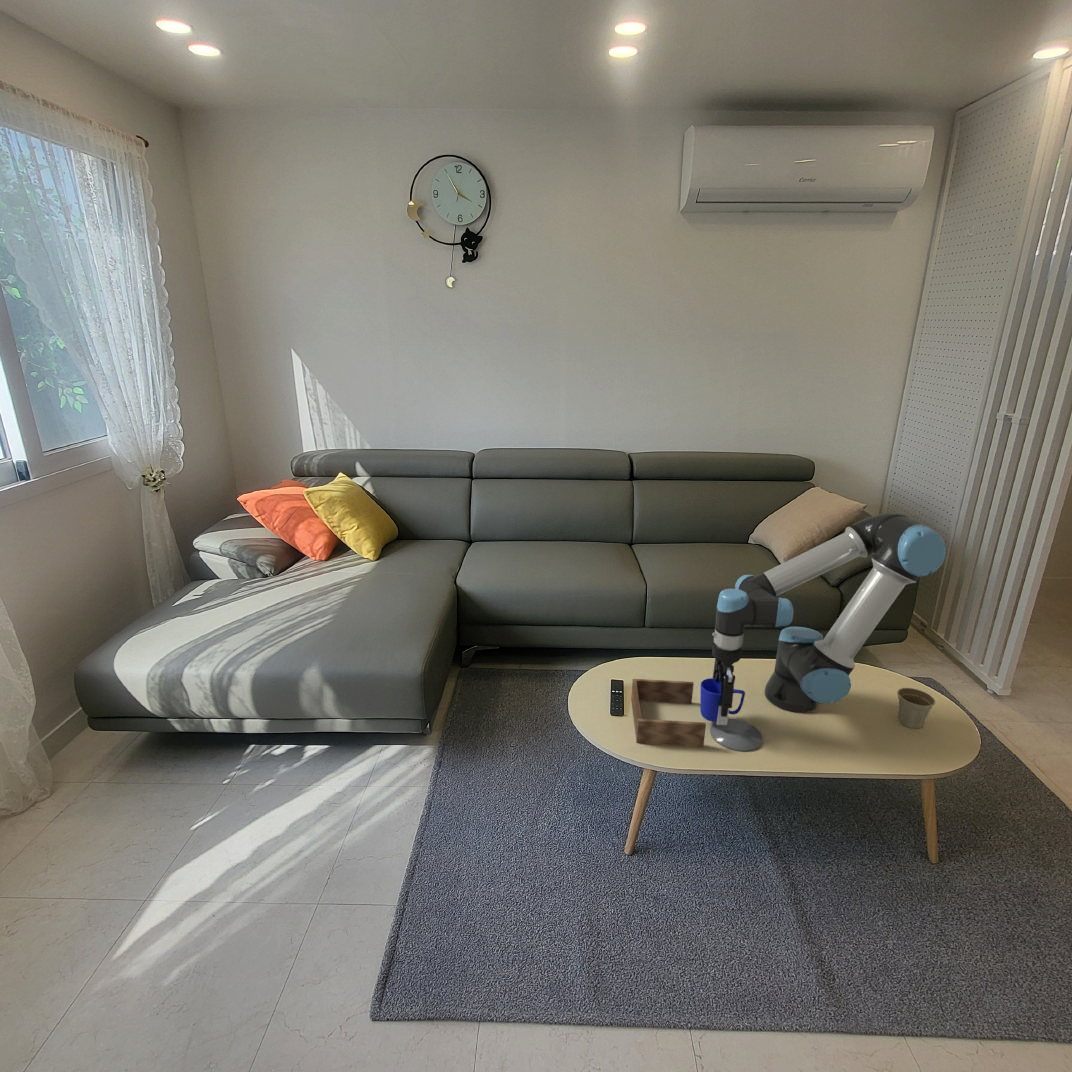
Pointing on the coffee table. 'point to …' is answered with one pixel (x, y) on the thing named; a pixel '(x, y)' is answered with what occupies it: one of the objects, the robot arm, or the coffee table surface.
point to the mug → (714, 699)
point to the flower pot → (914, 706)
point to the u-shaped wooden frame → (665, 729)
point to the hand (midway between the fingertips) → (718, 715)
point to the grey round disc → (737, 735)
